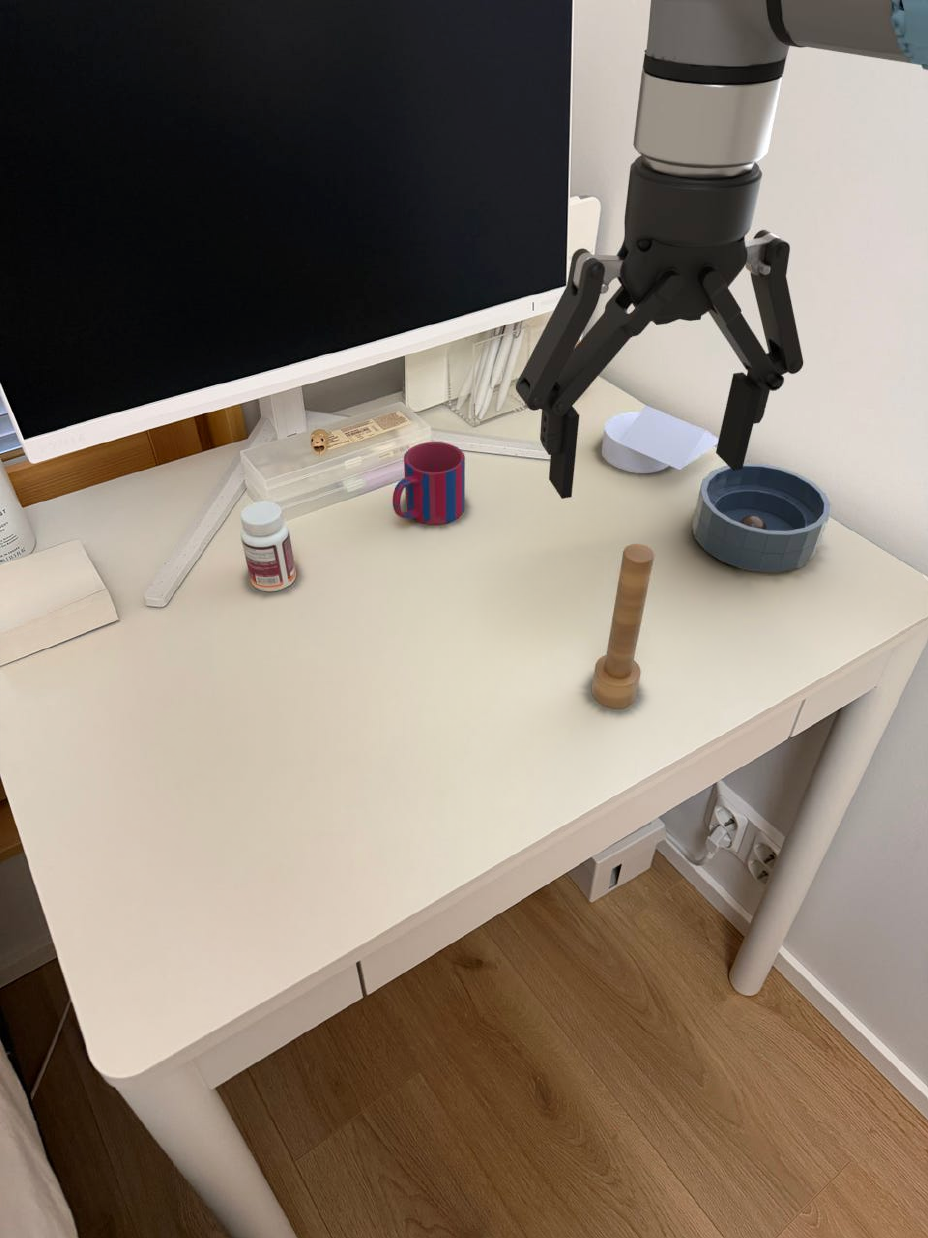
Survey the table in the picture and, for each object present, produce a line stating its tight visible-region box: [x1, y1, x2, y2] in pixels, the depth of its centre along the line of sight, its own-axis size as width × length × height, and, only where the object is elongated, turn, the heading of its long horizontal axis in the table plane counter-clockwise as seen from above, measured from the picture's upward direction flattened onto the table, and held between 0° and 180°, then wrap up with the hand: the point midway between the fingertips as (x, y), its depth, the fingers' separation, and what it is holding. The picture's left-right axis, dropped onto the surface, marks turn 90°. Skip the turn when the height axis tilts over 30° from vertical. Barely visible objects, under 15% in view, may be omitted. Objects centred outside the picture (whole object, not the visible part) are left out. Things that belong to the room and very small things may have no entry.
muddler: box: [591, 543, 655, 709], centre depth 72 cm, size 4×4×16 cm
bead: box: [739, 515, 766, 530], centre depth 93 cm, size 3×3×3 cm
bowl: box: [691, 462, 832, 573], centre depth 93 cm, size 13×13×6 cm
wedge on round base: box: [601, 404, 719, 474], centre depth 105 cm, size 9×7×13 cm
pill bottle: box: [239, 500, 297, 592], centre depth 87 cm, size 5×5×8 cm
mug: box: [392, 441, 466, 526], centre depth 96 cm, size 7×10×7 cm
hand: (646, 474), depth 64 cm, fingers open, 13 cm apart
